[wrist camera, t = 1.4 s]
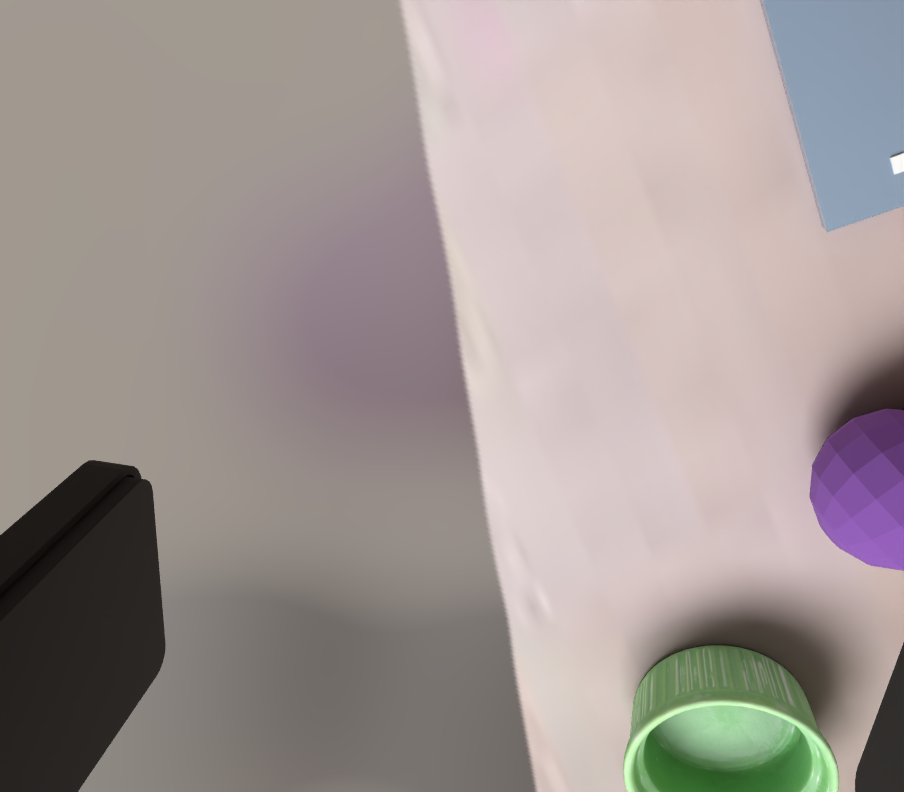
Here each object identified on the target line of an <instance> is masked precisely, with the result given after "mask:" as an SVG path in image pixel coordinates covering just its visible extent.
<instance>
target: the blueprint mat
mask: <svg viewBox="0 0 904 792" xmlns="http://www.w3.org/2000/svg"><path fill="white" fill-rule="evenodd" d="M760 1H761V5H762V9H763V12H764V16H765V19H766V23H767V27H768V30H769V34H770V38H771V41H772V45H773V48H774V52H775V56H776V59H777V63H778V66H779V70H780V74H781V77H782V81H783V85H784V88H785V92H786V95H787V99H788V103H789V106H790V110H791V114H792V117H793V121H794V124H795V128H796V132H797V135H798V139H799V142H800V146H801V150H802V153H803V157H804V161H805V164H806V168H807V171H808V175H809V179H810V182H811V186H812V190H813V193H814V197H815V200H816V204H817V208H818V211H819V215H820V218H821V222H822V226H823V228H824V229H825V230H826V231H827V232H829V231H832V230H835V229H838V228H841V227H843V226H846V225H849V224H852V223H855V222H858V221H861V220H864V219H867V218H870V217H873V216H876V215H879V214H882V213H884V212H887V211H890V210H893V209H896V208H899V207H902V206H904V0H760Z"/></svg>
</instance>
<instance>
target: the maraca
mask: <svg viewBox="0 0 904 792" xmlns="http://www.w3.org/2000/svg"><path fill="white" fill-rule="evenodd" d="M810 500H811V502H812V505H813V508H814V511H815V513H816V516H817V519H818V522H819V524H820V526H821V528H822V530H823V531H824V532H825V534H826V535H827V536H828V537H829V538H830V539H831V541H832V542H833V543H834V544H835V545H836V546H837V547H839V548H840V549H842V550H844V551H845V552H847V553H849V554H851V555H852V556H854V557H856V558H858V559H859V560H861V561H863V562H865V563H867V564H869V565H871V566H877V567H883V568H890V569H896V570H903V571H904V410H900V409H882V410H879V411H875V412H872V413H868V414H865V415H861V416H858V417H854V418H852V419H851V420H850V421H848V422H847V423H846V424H844V425H843V426H842V427H840V428H839V429H838V430H837V431H835V432H834V433H833V434H831V435H830V436H829V437H828V438H827V439H826V441H825V443H824V445H823V446H822V448H821V450H820V452H819V454H818V455H817V457H816V459H815V461H814V462H813V464H812V476H811V487H810Z"/></svg>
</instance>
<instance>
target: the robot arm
mask: <svg viewBox="0 0 904 792" xmlns="http://www.w3.org/2000/svg"><path fill="white" fill-rule="evenodd" d="M159 574H160V573H159V561H158V549H157V538H156V526H155V513H154V501H153V491H152V486H151V484H150V482H149V481H147V480H145V479H141V475H140V473H139V471H138V469H137V468H135V467H134V466H128V465H122V464H115V463H109V462H102V461H95V460H92V461H88V462H86V463H84V464H83V465H82V466H80V467H79V468H78V469H77V470H76V471H75V472H73V473H72V474H71V475H70V476H69V477H68V478H66V479H65V480H64V481H63V482H62V483H61V484H59V485H58V486H57V487H56V488H55V489H54V490H53V491H51V492H50V493H49V494H48V495H47V496H46V497H44V498H43V499H42V500H41V501H40V502H39V503H38V504H36V505H35V506H34V507H33V508H32V509H30V510H29V511H28V512H27V513H26V514H25V515H23V516H22V517H21V518H20V519H19V520H18V521H17V522H15V523H14V524H13V525H12V526H11V527H10V528H8V529H7V530H6V531H5V532H4V533H3V534H2V535H0V792H78V791H79V789H80V788H81V786H82V785H83V783H84V782H85V780H86V779H87V777H88V776H89V774H90V773H91V771H92V770H93V768H94V767H95V765H96V764H97V762H98V761H99V760H100V758H101V757H102V755H103V754H104V752H105V751H106V749H107V748H108V746H109V745H110V744H111V742H112V741H113V739H114V738H115V736H116V735H117V733H118V732H119V730H120V729H121V727H122V726H123V724H124V723H125V722H126V720H127V719H128V717H129V716H130V714H131V713H132V711H133V710H134V708H135V707H136V705H137V704H138V702H139V701H140V699H141V698H142V697H143V695H144V694H145V692H146V691H147V689H148V688H149V686H150V685H151V683H152V682H153V680H154V679H155V677H156V676H157V674H158V672H159V671H160V668H161V665H162V663H163V658H164V654H165V634H164V622H163V610H162V598H161V586H160V575H159ZM855 792H904V643H903V646H902V649H901V651H900V654H899V657H898V660H897V662H896V665H895V668H894V670H893V673H892V676H891V678H890V681H889V684H888V687H887V689H886V692H885V695H884V697H883V700H882V703H881V705H880V708H879V711H878V714H877V716H876V719H875V722H874V724H873V727H872V730H871V732H870V735H869V738H868V741H867V743H866V746H865V749H864V751H863V754H862V757H861V759H860V762H859V765H858V768H857V772H856V779H855Z"/></svg>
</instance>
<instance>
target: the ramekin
mask: <svg viewBox="0 0 904 792" xmlns="http://www.w3.org/2000/svg"><path fill="white" fill-rule="evenodd" d="M623 774H624V781H625V785H626V789H627V791H628V792H838V788H839V772H838V766H837V762H836V759H835V756H834V754H833V752H832V750H831V748H830V746H829V744H828V742H827V741H826V739H825V738H824V736H823V735H822V734H821V732H820V731H819V729H818V726H817V724H816V721H815V718H814V716H813V713H812V710H811V708H810V705H809V703H808V700H807V698H806V696H805V694H804V692H803V690H802V688H801V687H800V685H799V684H798V682H797V681H796V679H795V678H794V677H793V676H792V675H791V674H790V673H789V672H788V671H787V670H786V669H785V668H784V667H782V666H781V665H780V664H778V663H777V662H775V661H773V660H772V659H770V658H768V657H766V656H764V655H762V654H760V653H758V652H755V651H752V650H748V649H744V648H739V647H733V646H724V645H711V646H702V647H695V648H691V649H685V650H683V651H681V652H678V653H675V654H673V655H671V656H669V657H667V658H666V659H664V660H662V661H661V662H660V663H658V664H657V665H656V666H654V667H653V668H652V669H651V670H650V671H649V672H648V673H647V675H646V676H645V677H644V679H643V680H642V682H641V684H640V686H639V688H638V689H637V693H636V696H635V699H634V705H633V712H632V722H631V733H630V739H629V742H628V744H627V748H626V752H625V756H624V764H623Z"/></svg>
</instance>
